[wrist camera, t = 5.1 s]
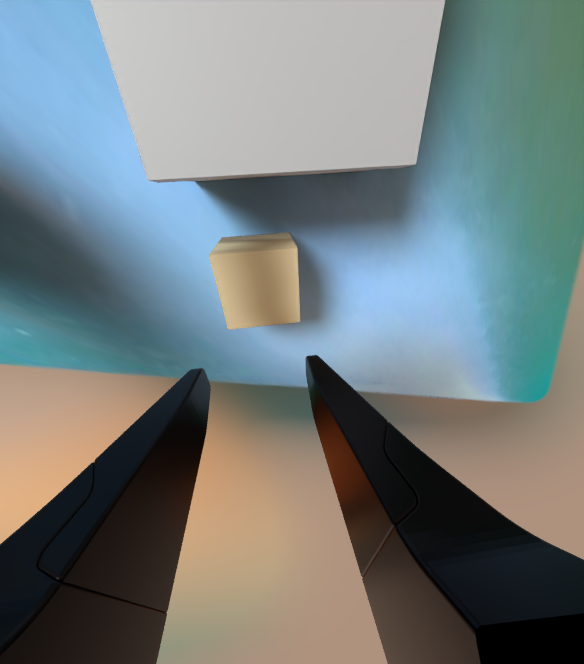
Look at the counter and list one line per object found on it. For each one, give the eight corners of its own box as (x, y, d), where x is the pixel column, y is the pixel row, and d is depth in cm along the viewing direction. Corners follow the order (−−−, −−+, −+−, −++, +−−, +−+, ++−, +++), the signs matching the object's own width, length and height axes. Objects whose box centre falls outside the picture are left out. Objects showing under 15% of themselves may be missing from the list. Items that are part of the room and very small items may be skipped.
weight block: (235, 298, 19) (228, 329, 15) (222, 237, 16) (208, 255, 12) (292, 292, 20) (300, 322, 15) (288, 232, 17) (297, 247, 13)
